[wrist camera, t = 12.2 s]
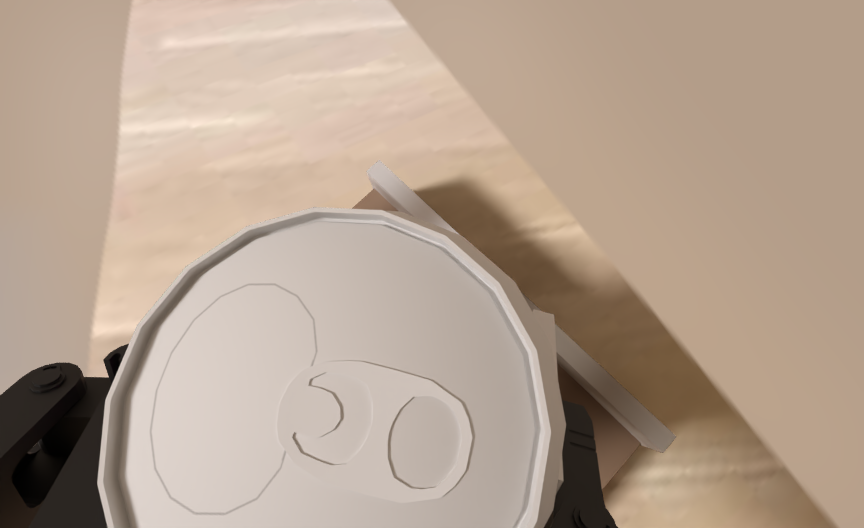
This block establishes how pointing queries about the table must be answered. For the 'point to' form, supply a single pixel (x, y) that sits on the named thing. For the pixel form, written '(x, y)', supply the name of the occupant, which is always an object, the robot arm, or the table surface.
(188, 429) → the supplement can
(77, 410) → the robot arm
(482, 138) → the table surface
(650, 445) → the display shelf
